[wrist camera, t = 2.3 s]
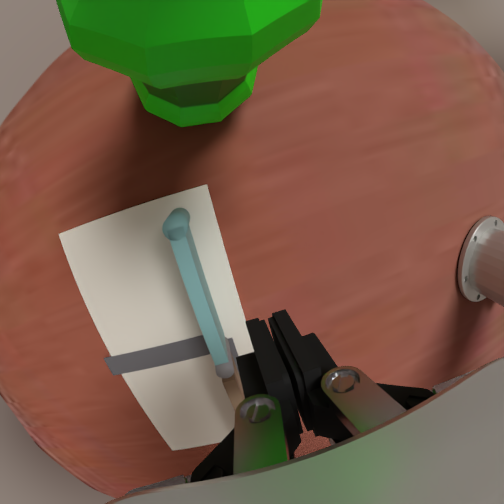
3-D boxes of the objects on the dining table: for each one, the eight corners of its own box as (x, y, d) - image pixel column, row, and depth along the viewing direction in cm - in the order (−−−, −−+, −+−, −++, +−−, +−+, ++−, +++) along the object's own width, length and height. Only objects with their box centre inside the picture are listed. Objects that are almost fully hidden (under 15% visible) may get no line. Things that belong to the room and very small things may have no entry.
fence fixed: (263, 429, 34) (273, 463, 28) (248, 433, 34) (256, 467, 28) (233, 347, 30) (240, 383, 24) (214, 352, 30) (218, 389, 24)
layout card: (278, 425, 35) (279, 427, 34) (165, 449, 34) (165, 452, 33) (206, 184, 26) (206, 184, 25) (52, 236, 24) (50, 237, 24)
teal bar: (231, 346, 29) (237, 375, 25) (214, 351, 29) (217, 380, 25) (186, 204, 25) (183, 212, 21) (167, 210, 25) (159, 219, 20)
